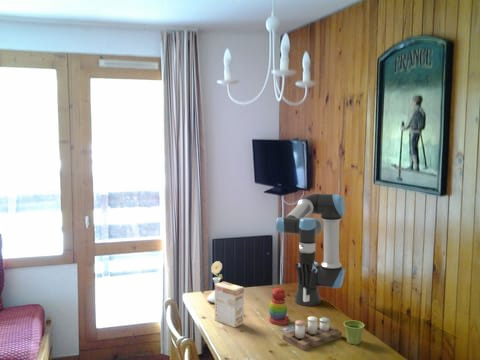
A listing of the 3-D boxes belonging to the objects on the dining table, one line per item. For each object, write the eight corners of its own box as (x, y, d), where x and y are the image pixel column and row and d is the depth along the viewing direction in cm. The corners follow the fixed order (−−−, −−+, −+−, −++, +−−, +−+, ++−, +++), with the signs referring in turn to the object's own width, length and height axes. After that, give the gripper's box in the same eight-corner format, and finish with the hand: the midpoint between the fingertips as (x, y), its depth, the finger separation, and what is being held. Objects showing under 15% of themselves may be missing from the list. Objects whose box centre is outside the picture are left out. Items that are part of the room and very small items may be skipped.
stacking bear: (287, 326, 227) (287, 292, 226) (267, 324, 229) (267, 290, 228) (289, 318, 237) (289, 285, 236) (270, 316, 239) (270, 284, 238)
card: (299, 323, 231) (299, 322, 231) (307, 327, 226) (307, 325, 226) (278, 329, 223) (278, 328, 223) (286, 333, 218) (286, 332, 218)
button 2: (324, 330, 221) (324, 316, 220) (331, 333, 217) (331, 319, 216) (317, 332, 218) (317, 318, 217) (324, 335, 214) (324, 322, 213)
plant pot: (352, 348, 202) (353, 329, 202) (339, 340, 211) (339, 322, 210) (368, 343, 207) (368, 325, 206) (354, 336, 215) (354, 318, 214)
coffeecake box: (244, 324, 230) (244, 287, 228) (234, 328, 224) (234, 290, 223) (223, 316, 240) (223, 280, 238) (214, 320, 235) (214, 283, 233)
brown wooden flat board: (320, 327, 226) (320, 322, 225) (341, 336, 214) (341, 331, 214) (282, 339, 211) (282, 334, 211) (303, 350, 200) (303, 345, 200)
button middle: (312, 329, 216) (312, 315, 215) (319, 332, 212) (319, 318, 211) (305, 331, 213) (305, 317, 213) (312, 335, 209) (312, 320, 209)
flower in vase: (204, 299, 266) (204, 258, 264) (222, 297, 270) (221, 256, 268) (212, 306, 254) (212, 263, 252) (230, 303, 258) (230, 261, 257)
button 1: (300, 333, 211) (300, 319, 211) (307, 336, 207) (307, 322, 207) (292, 335, 209) (292, 321, 208) (299, 339, 205) (299, 324, 204)
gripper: (291, 249, 210) (290, 298, 211) (311, 255, 199) (310, 306, 201) (303, 247, 214) (302, 295, 216) (323, 252, 204) (322, 303, 205)
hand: (306, 301), depth 208 cm, fingers closed
